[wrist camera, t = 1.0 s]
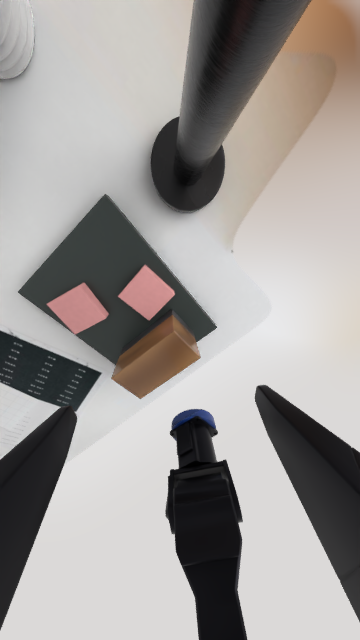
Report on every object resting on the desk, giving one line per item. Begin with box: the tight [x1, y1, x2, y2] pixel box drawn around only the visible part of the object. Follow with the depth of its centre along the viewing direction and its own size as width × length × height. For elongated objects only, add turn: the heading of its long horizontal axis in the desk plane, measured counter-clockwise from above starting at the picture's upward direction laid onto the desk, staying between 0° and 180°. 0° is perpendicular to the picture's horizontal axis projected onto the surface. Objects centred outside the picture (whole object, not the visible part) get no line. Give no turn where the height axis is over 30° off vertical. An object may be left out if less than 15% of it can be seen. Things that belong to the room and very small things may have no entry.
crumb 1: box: [47, 283, 109, 334], centre depth 18 cm, size 4×4×1 cm
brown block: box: [111, 309, 201, 399], centre depth 19 cm, size 4×8×5 cm, turn 129°
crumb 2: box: [118, 265, 175, 320], centre depth 18 cm, size 4×4×1 cm
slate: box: [18, 194, 217, 365], centre depth 20 cm, size 17×13×1 cm
